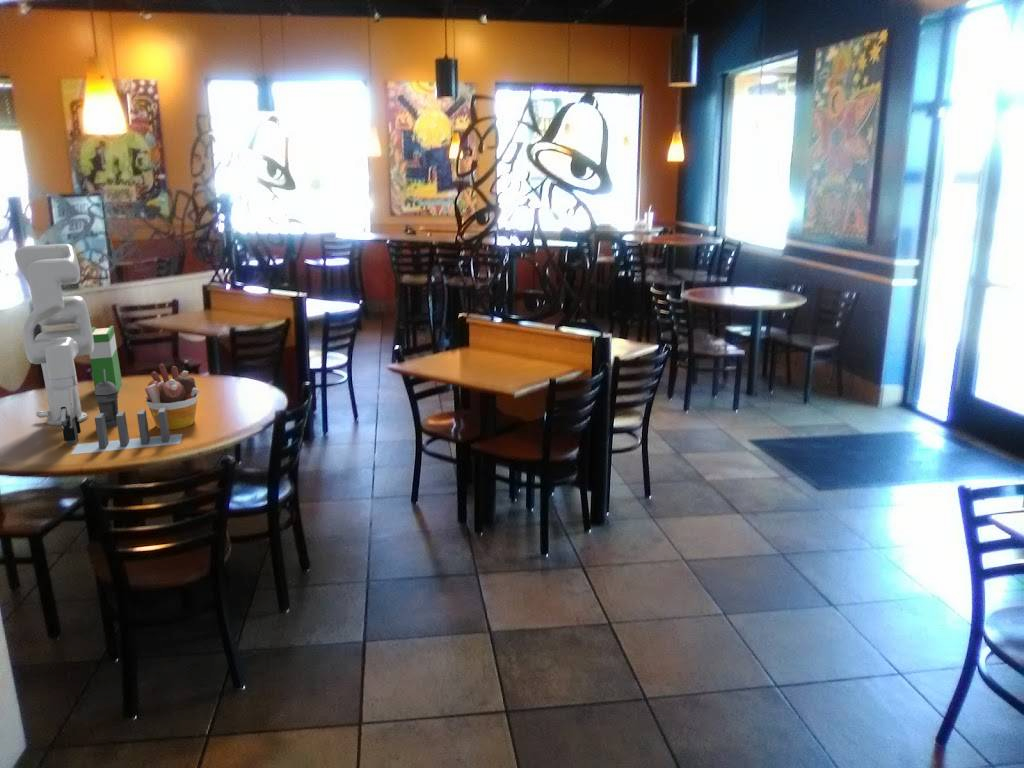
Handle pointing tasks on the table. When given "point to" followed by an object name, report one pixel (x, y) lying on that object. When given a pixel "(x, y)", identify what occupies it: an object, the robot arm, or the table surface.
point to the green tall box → (105, 357)
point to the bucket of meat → (173, 397)
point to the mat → (132, 444)
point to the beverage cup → (107, 401)
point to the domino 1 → (75, 432)
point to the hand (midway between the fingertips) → (72, 436)
